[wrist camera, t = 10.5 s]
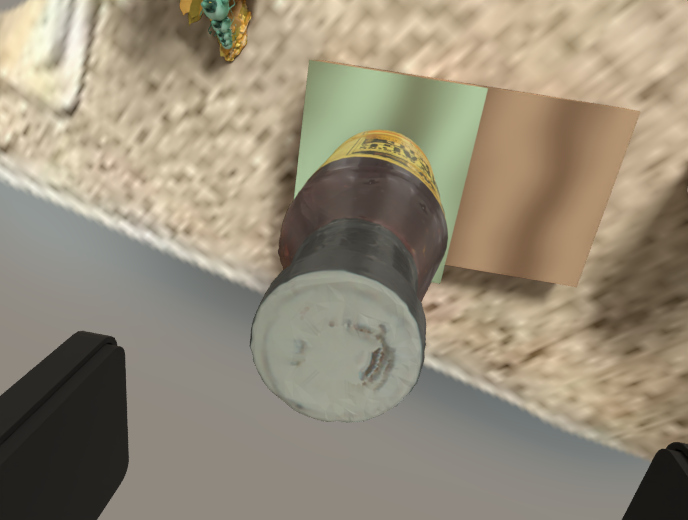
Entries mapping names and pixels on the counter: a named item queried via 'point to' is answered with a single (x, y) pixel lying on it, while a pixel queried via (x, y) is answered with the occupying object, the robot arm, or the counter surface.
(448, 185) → the stand
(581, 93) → the counter surface
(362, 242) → the sauce bottle
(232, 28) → the teal toy figure
